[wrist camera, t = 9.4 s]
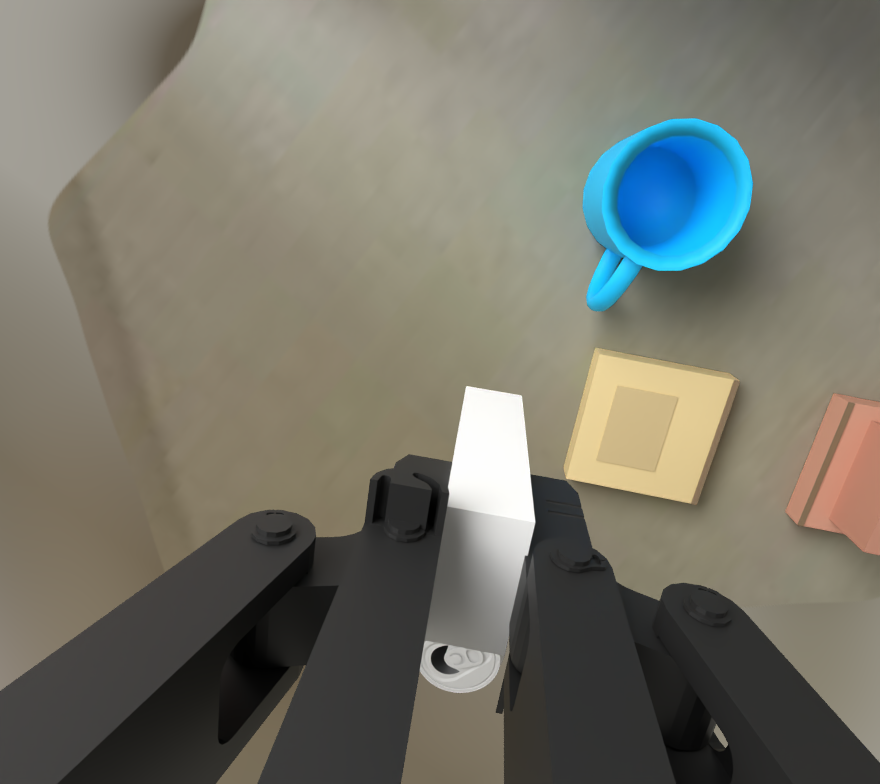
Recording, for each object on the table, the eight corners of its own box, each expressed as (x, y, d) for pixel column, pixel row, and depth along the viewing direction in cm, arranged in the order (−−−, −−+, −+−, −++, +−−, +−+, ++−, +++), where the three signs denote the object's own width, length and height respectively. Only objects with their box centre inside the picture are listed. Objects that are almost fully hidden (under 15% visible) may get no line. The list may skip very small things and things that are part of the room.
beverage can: (418, 536, 51) (395, 633, 40) (489, 516, 50) (487, 610, 38) (444, 597, 53) (429, 707, 41) (514, 579, 51) (518, 687, 40)
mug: (622, 111, 40) (651, 89, 32) (729, 168, 40) (784, 160, 32) (534, 275, 43) (542, 291, 36) (633, 325, 44) (661, 352, 36)
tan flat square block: (595, 347, 45) (599, 354, 43) (729, 373, 44) (740, 381, 42) (563, 467, 48) (566, 479, 46) (688, 492, 47) (696, 505, 45)
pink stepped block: (833, 393, 44) (888, 424, 38) (915, 409, 44) (984, 443, 38) (785, 511, 47) (828, 558, 41) (861, 526, 47) (916, 576, 41)
